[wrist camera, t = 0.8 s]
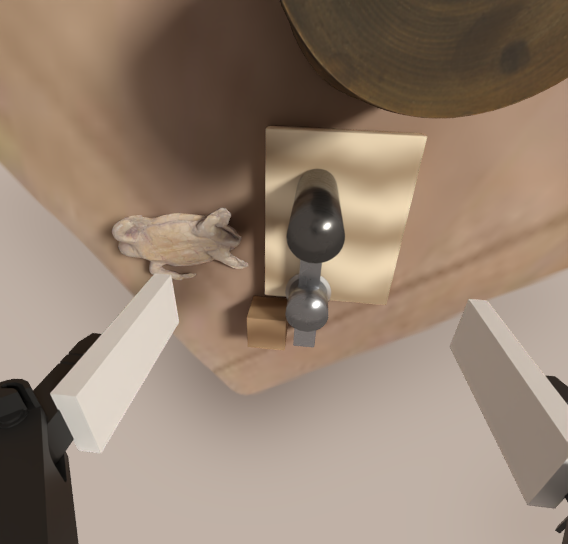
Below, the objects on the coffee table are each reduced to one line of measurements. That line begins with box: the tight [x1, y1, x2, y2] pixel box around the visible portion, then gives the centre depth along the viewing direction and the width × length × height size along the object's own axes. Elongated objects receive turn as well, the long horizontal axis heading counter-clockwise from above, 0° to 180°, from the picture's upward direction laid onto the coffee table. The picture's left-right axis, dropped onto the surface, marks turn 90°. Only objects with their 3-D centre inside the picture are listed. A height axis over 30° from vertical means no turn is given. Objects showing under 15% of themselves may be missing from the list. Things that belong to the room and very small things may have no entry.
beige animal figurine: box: [112, 208, 248, 280], centre depth 34 cm, size 16×10×10 cm, turn 120°
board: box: [265, 126, 427, 305], centre depth 34 cm, size 20×14×2 cm
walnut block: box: [247, 296, 288, 350], centre depth 40 cm, size 4×4×4 cm
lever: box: [285, 169, 345, 347], centre depth 30 cm, size 19×4×11 cm, turn 178°
